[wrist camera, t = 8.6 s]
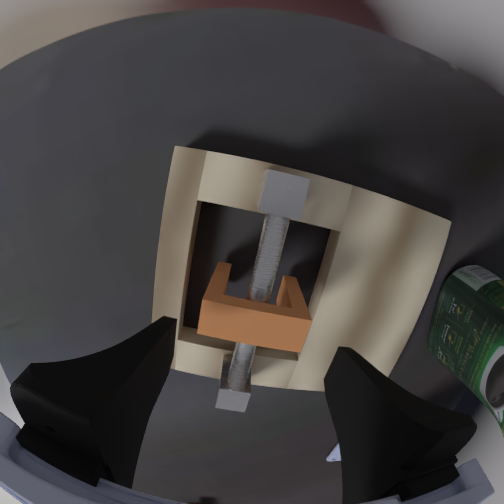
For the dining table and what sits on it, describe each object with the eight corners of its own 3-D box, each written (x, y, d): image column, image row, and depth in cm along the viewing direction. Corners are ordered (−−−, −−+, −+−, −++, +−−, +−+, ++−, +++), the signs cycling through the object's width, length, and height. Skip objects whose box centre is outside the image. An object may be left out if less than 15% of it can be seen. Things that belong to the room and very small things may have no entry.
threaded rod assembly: (297, 178, 16) (310, 179, 12) (245, 378, 20) (244, 412, 16) (264, 170, 15) (268, 168, 12) (219, 374, 19) (215, 407, 16)
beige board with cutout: (436, 217, 18) (451, 221, 16) (371, 378, 22) (378, 391, 21) (182, 148, 17) (175, 145, 15) (157, 349, 21) (150, 363, 19)
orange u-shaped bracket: (296, 277, 19) (312, 320, 13) (288, 303, 19) (300, 352, 13) (218, 261, 18) (202, 299, 13) (213, 287, 19) (196, 333, 13)
